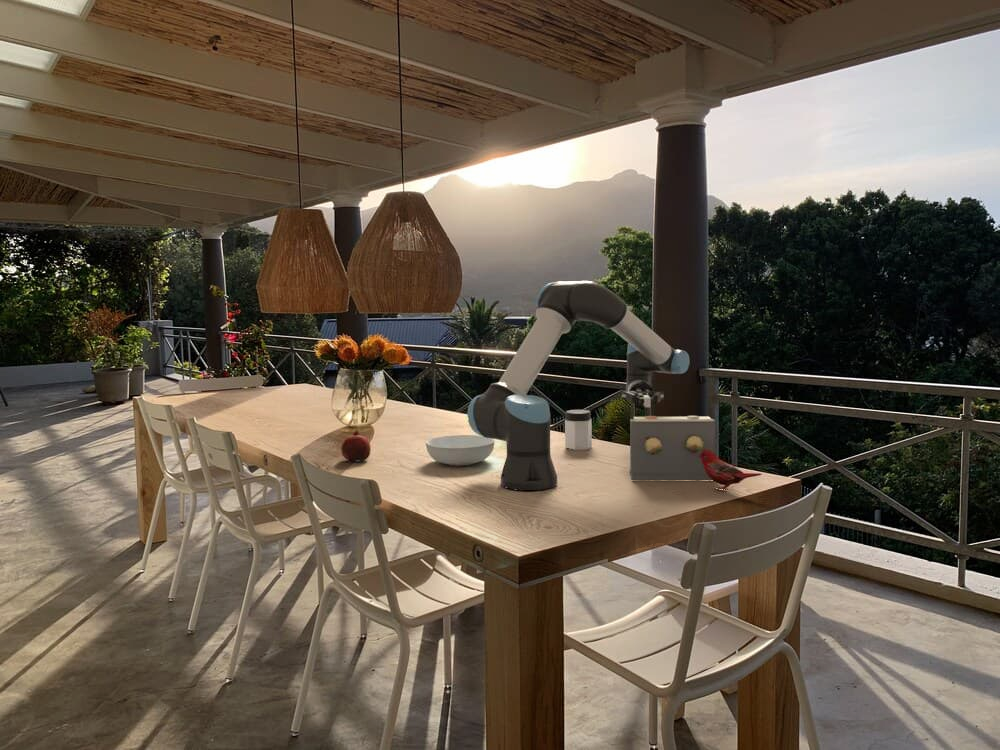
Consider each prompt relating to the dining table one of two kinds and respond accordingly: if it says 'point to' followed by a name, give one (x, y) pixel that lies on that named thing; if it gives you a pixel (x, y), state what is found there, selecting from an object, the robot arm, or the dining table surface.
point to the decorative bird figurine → (722, 470)
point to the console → (669, 447)
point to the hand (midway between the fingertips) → (647, 402)
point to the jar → (578, 430)
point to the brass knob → (653, 445)
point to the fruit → (356, 447)
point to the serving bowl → (460, 449)
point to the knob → (694, 443)
